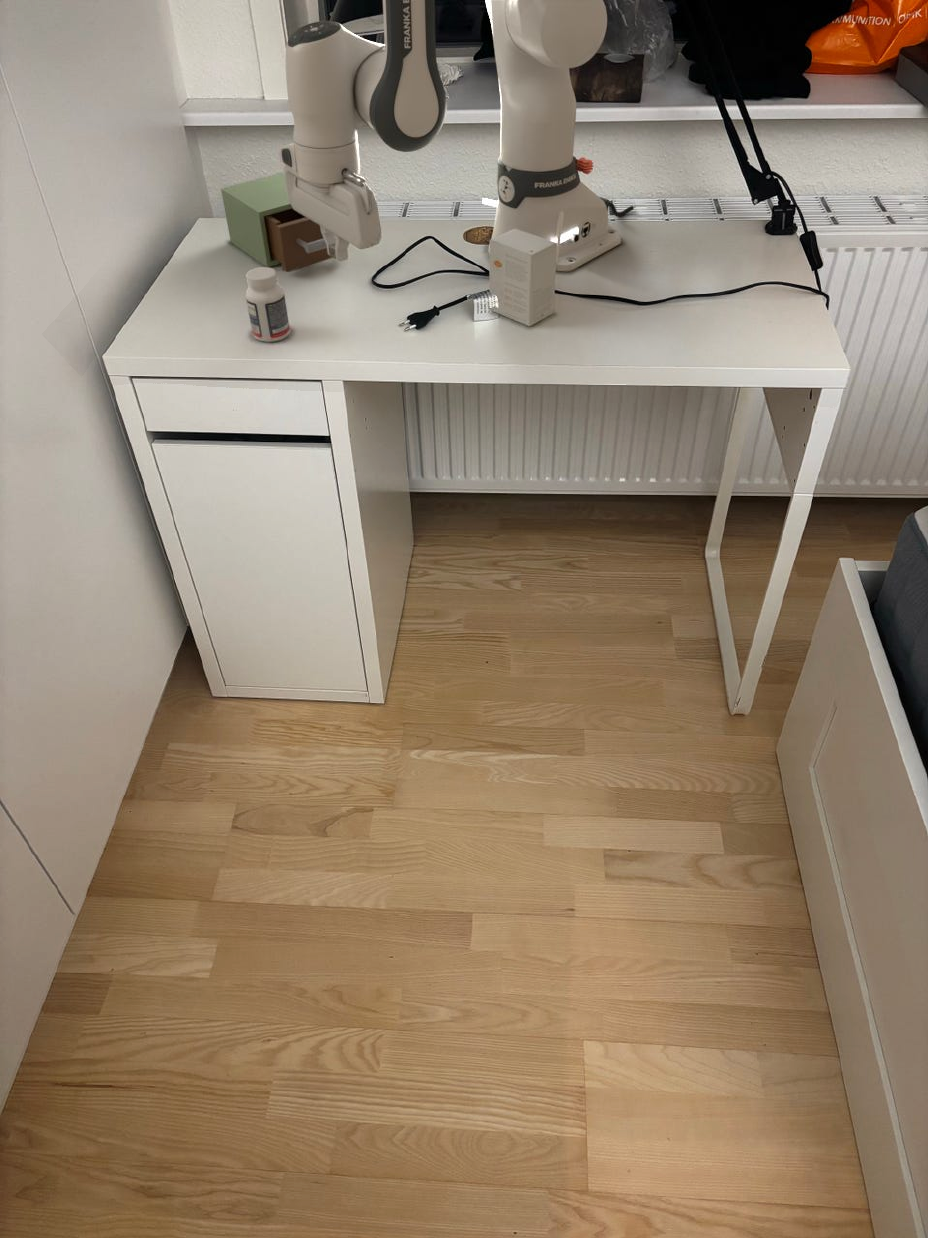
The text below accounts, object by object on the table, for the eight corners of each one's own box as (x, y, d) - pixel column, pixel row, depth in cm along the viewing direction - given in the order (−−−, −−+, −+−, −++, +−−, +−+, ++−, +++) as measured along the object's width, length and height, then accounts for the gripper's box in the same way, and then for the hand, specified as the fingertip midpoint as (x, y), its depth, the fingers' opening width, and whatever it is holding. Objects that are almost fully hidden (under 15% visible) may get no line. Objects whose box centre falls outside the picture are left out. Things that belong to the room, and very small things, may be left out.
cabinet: (329, 248, 151) (323, 194, 145) (267, 267, 146) (258, 212, 140) (291, 224, 158) (283, 171, 152) (230, 241, 153) (220, 188, 147)
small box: (554, 314, 134) (559, 242, 127) (529, 327, 131) (532, 254, 124) (513, 297, 138) (515, 226, 131) (487, 310, 135) (488, 238, 128)
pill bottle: (294, 325, 132) (285, 265, 126) (285, 343, 129) (276, 282, 122) (258, 324, 133) (247, 263, 126) (248, 341, 129) (237, 280, 123)
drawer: (357, 263, 145) (353, 219, 140) (300, 281, 140) (293, 236, 136) (306, 231, 154) (300, 189, 149) (250, 247, 149) (243, 204, 144)
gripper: (388, 175, 124) (394, 275, 134) (310, 136, 135) (320, 231, 145) (349, 186, 121) (358, 287, 131) (272, 145, 133) (286, 241, 142)
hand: (338, 257), depth 138 cm, fingers closed
